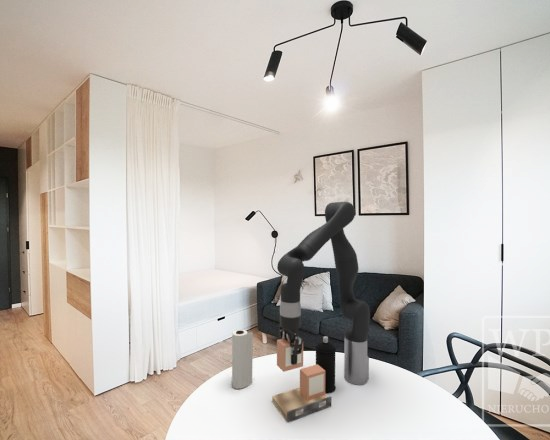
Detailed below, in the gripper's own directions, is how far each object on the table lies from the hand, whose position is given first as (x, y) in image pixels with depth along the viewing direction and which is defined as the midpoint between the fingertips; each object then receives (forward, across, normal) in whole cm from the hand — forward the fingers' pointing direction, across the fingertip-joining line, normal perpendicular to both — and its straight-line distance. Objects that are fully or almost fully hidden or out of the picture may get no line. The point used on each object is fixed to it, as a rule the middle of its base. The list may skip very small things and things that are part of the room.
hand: (289, 360), depth 98 cm
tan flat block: (+16, 0, -4) cm, 17 cm away
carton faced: (+14, 0, -10) cm, 17 cm away
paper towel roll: (+17, +20, +12) cm, 28 cm away
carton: (+2, 0, 0) cm, 2 cm away
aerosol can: (+17, +4, -18) cm, 25 cm away
